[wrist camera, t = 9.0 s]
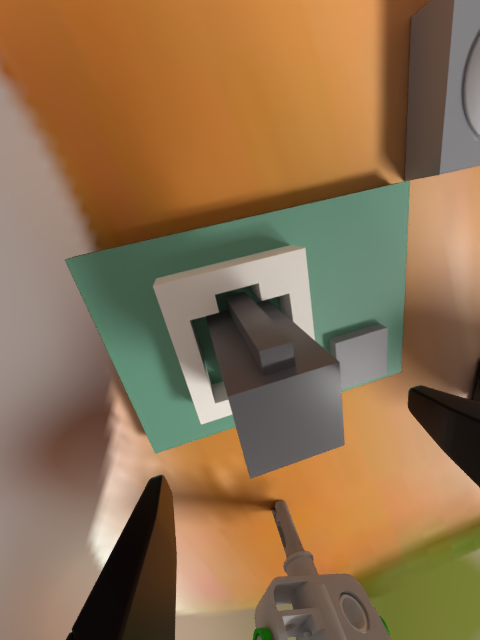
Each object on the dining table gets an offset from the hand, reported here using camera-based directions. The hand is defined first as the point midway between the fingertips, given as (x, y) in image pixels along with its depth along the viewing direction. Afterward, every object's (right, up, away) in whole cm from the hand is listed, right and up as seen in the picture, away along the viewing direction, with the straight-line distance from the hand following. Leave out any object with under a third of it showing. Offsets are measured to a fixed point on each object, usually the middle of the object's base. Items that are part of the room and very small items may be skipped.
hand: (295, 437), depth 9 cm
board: (0, +4, +10) cm, 10 cm away
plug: (-2, +3, +8) cm, 9 cm away
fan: (+12, +18, +7) cm, 23 cm away
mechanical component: (+2, -14, +17) cm, 23 cm away
